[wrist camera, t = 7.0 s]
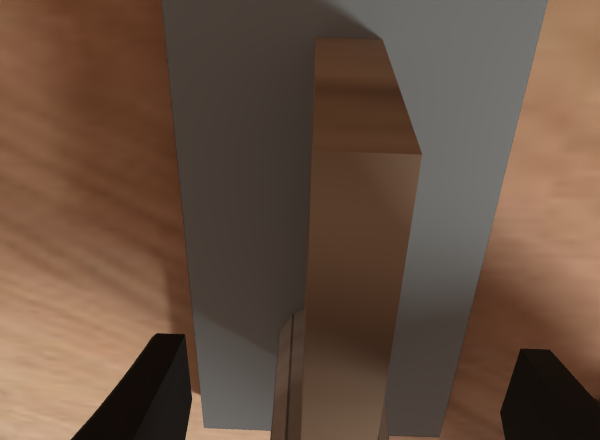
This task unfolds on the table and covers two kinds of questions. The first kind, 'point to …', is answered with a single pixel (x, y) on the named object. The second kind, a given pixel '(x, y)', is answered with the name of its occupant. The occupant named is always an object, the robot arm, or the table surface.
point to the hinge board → (296, 179)
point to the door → (349, 249)
